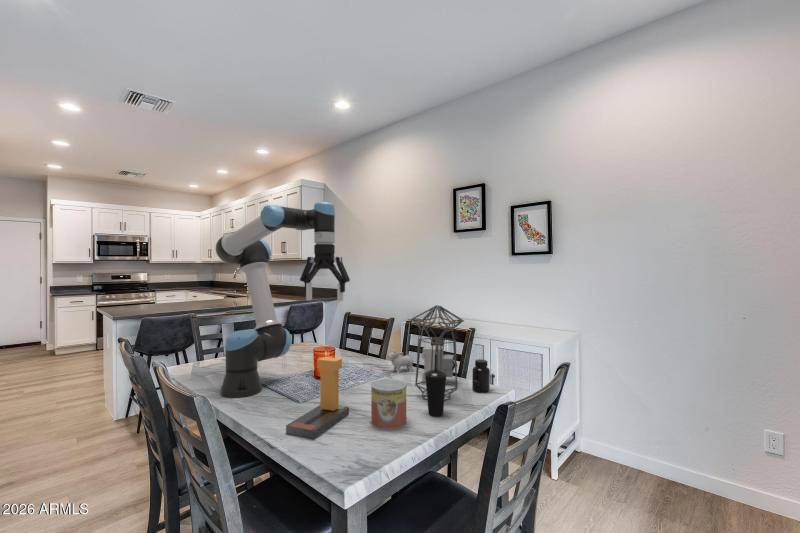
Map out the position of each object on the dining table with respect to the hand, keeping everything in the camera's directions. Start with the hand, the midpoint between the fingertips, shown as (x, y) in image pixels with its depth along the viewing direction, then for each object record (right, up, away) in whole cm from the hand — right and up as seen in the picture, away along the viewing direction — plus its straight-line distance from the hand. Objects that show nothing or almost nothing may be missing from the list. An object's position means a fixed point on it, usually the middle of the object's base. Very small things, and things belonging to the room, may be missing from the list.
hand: (324, 300), depth 144 cm
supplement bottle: (+61, -37, +9) cm, 72 cm away
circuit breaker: (+45, -37, +20) cm, 62 cm away
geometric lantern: (+43, -37, +2) cm, 56 cm away
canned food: (+25, -37, -22) cm, 50 cm away
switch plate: (+3, -37, -23) cm, 43 cm away
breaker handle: (+5, -34, -17) cm, 38 cm away
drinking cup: (+40, -37, -15) cm, 57 cm away
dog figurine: (+29, -37, +37) cm, 60 cm away
